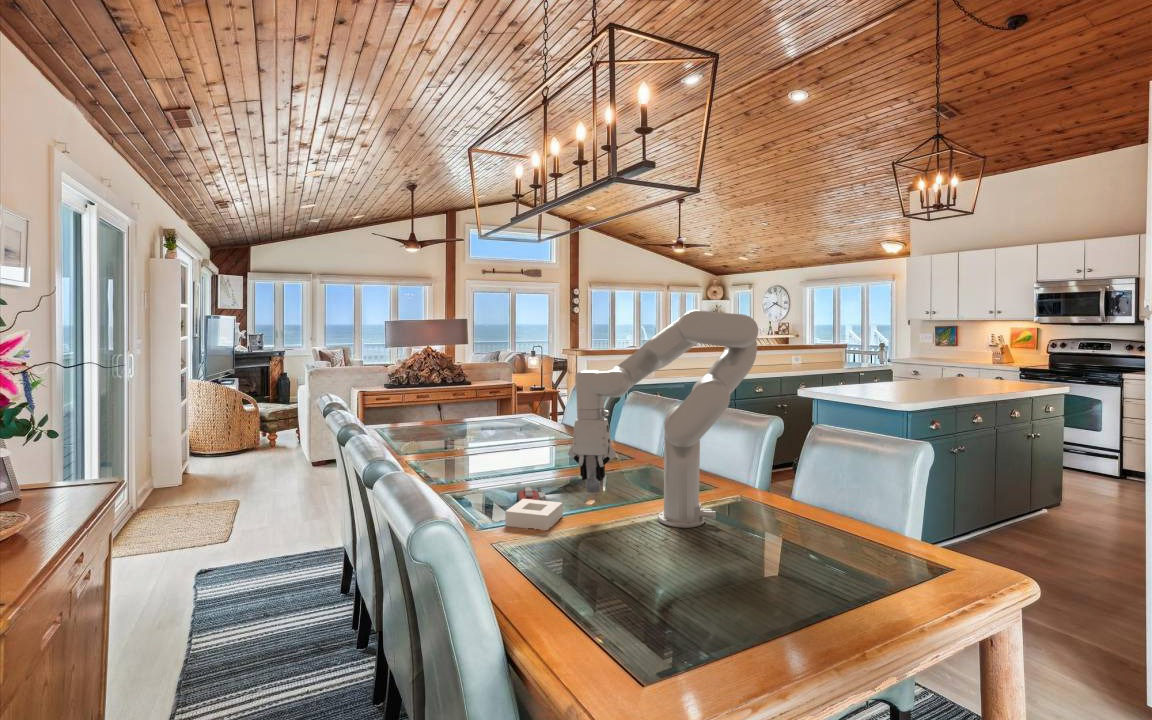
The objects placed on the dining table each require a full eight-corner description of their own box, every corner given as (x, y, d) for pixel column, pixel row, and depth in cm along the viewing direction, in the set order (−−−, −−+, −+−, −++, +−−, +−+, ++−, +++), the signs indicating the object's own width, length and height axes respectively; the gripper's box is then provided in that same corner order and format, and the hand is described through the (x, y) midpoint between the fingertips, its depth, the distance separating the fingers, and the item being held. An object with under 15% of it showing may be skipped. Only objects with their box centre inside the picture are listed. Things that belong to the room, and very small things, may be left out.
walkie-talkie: (549, 511, 173) (542, 492, 193) (549, 496, 173) (542, 478, 193) (518, 512, 172) (514, 493, 192) (518, 497, 172) (514, 479, 191)
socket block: (562, 516, 167) (562, 502, 167) (547, 530, 156) (547, 515, 156) (523, 512, 171) (523, 498, 171) (505, 525, 160) (505, 511, 159)
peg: (602, 489, 169) (600, 447, 168) (598, 493, 165) (596, 450, 164) (588, 488, 170) (587, 446, 169) (584, 492, 166) (582, 449, 165)
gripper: (623, 412, 167) (625, 477, 168) (566, 412, 172) (568, 475, 173) (616, 417, 160) (618, 484, 161) (557, 416, 165) (560, 481, 166)
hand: (592, 478), depth 167 cm, fingers closed on peg, 4 cm apart
